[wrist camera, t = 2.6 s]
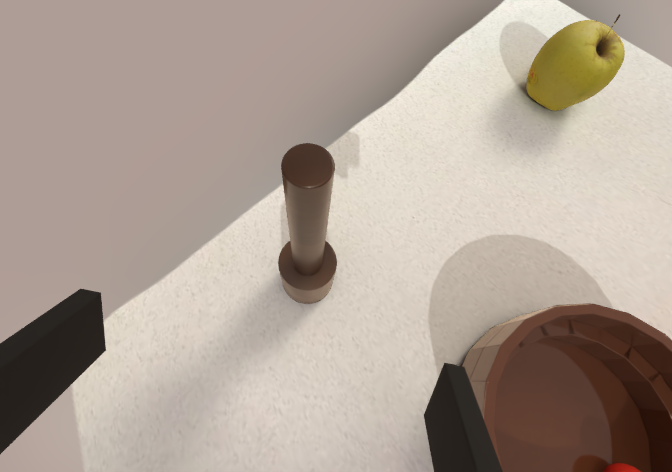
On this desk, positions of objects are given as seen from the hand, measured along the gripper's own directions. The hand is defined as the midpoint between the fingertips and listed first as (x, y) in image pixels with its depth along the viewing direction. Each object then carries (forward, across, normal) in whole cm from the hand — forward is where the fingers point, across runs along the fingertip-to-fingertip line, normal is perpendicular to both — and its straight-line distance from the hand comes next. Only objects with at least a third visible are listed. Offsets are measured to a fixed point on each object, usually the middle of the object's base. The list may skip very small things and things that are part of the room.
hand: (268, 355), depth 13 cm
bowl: (+11, +22, -12) cm, 27 cm away
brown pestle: (+16, 0, -6) cm, 18 cm away
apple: (+36, +23, +13) cm, 45 cm away
